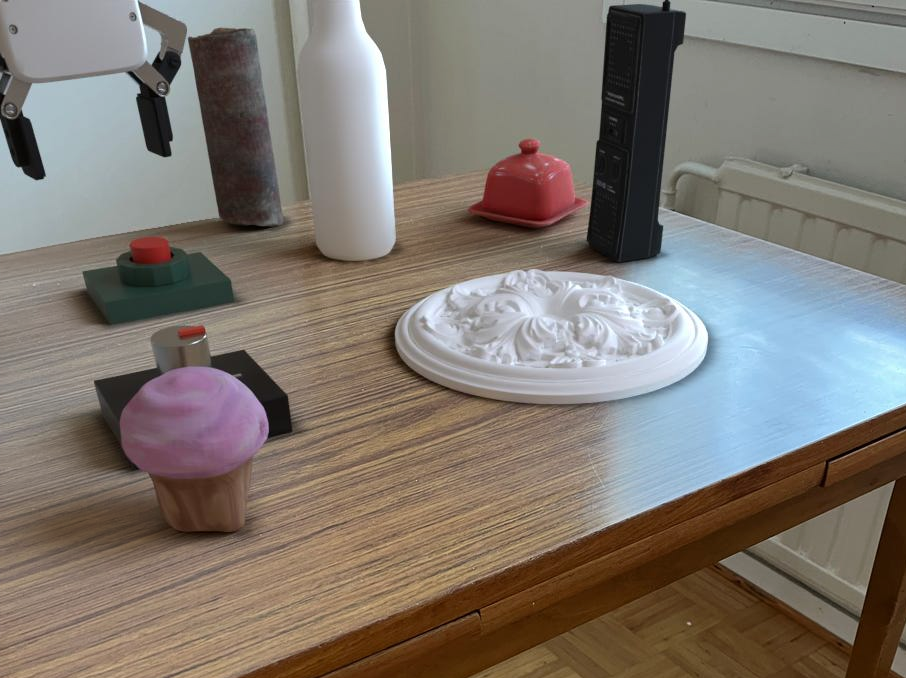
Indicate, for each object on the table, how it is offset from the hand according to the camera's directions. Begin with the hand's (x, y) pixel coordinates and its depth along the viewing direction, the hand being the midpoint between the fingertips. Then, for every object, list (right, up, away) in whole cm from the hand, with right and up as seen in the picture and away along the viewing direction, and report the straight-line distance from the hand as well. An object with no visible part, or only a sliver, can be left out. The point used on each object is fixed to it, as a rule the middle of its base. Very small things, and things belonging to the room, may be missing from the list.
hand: (99, 165), depth 73 cm
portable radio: (+44, +7, +35) cm, 57 cm away
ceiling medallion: (+35, -8, +16) cm, 39 cm away
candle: (+1, +14, +43) cm, 45 cm away
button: (-3, +1, +22) cm, 22 cm away
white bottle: (+15, +8, +36) cm, 39 cm away
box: (-3, -2, +24) cm, 24 cm away
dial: (+7, -16, 0) cm, 18 cm away
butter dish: (+34, +15, +45) cm, 59 cm away
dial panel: (+7, -19, +2) cm, 20 cm away
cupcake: (+11, -28, -8) cm, 31 cm away
